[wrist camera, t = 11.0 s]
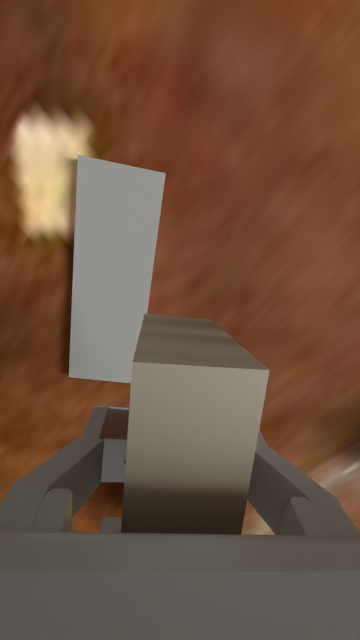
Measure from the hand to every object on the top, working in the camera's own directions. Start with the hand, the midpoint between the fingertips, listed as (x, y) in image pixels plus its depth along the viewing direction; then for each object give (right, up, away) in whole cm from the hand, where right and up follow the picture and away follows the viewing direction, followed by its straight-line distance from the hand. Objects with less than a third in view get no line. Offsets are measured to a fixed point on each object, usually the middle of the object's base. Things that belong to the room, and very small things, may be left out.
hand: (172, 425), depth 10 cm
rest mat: (-6, +8, +14) cm, 17 cm away
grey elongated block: (-1, -4, +3) cm, 5 cm away
